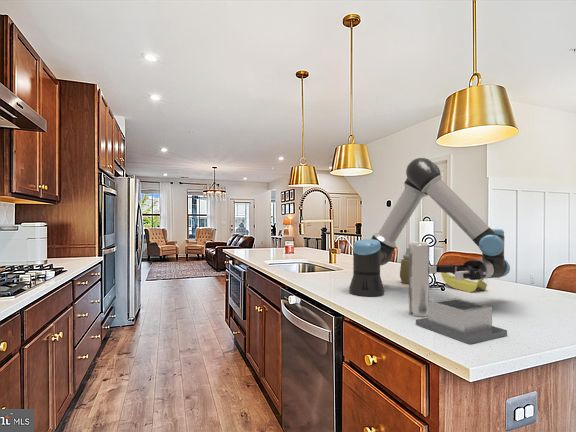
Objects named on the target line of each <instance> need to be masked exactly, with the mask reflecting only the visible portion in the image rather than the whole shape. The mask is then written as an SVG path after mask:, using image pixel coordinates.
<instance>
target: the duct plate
mask: <svg viewBox="0 0 576 432" xmlns="http://www.w3.org/2000/svg"><path fill="white" fill-rule="evenodd" d="M415 325H416V326H419V327H420V328H421V327H422V328H424V329H427V330H429V331H432V332H434V333H438V334H440V335H443V336H446V337H448V338H451V339H454V340H457V341H460V342H461V343H465V344H467V345H473V344H477V343H482V342H486V341H490V340H495V339H499V338H503V337H507V336H508V330H507V329H504V328H500V327H498V326H493V307H492V306H489V305H486V304H485V305H484V304H481V303H478V302H477V303H475V302H473V301H472V302H471V301H468V300H463V299H459V298H457V297H454V298H446V299H439V300H432V301H429V302H428V316H427V317H424V318H423V317H422V318H418V319H415Z"/></svg>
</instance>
